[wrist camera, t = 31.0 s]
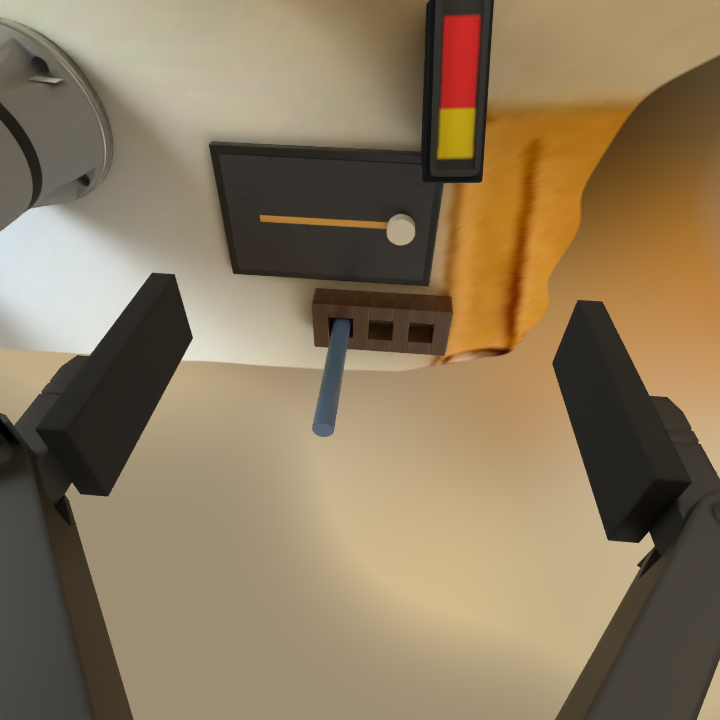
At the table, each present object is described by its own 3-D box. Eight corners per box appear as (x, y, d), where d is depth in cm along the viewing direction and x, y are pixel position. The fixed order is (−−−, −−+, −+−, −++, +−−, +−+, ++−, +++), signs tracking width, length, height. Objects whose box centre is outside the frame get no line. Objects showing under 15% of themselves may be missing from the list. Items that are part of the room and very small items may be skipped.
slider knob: (386, 238, 49) (385, 244, 48) (388, 213, 47) (387, 218, 46) (413, 240, 48) (413, 246, 48) (416, 214, 47) (416, 220, 46)
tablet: (235, 269, 54) (232, 274, 53) (211, 141, 45) (208, 144, 44) (428, 282, 53) (429, 287, 52) (446, 152, 43) (447, 157, 43)
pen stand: (318, 331, 59) (314, 346, 57) (315, 288, 55) (311, 303, 53) (443, 339, 58) (444, 356, 56) (451, 296, 54) (453, 312, 52)
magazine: (419, 192, 44) (424, 181, 30) (424, 29, 41) (432, -72, 26) (460, 191, 44) (485, 180, 30) (468, 27, 40) (502, -76, 26)
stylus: (335, 318, 58) (312, 436, 44) (335, 305, 56) (311, 422, 43) (352, 319, 58) (333, 437, 44) (352, 306, 56) (333, 424, 43)
